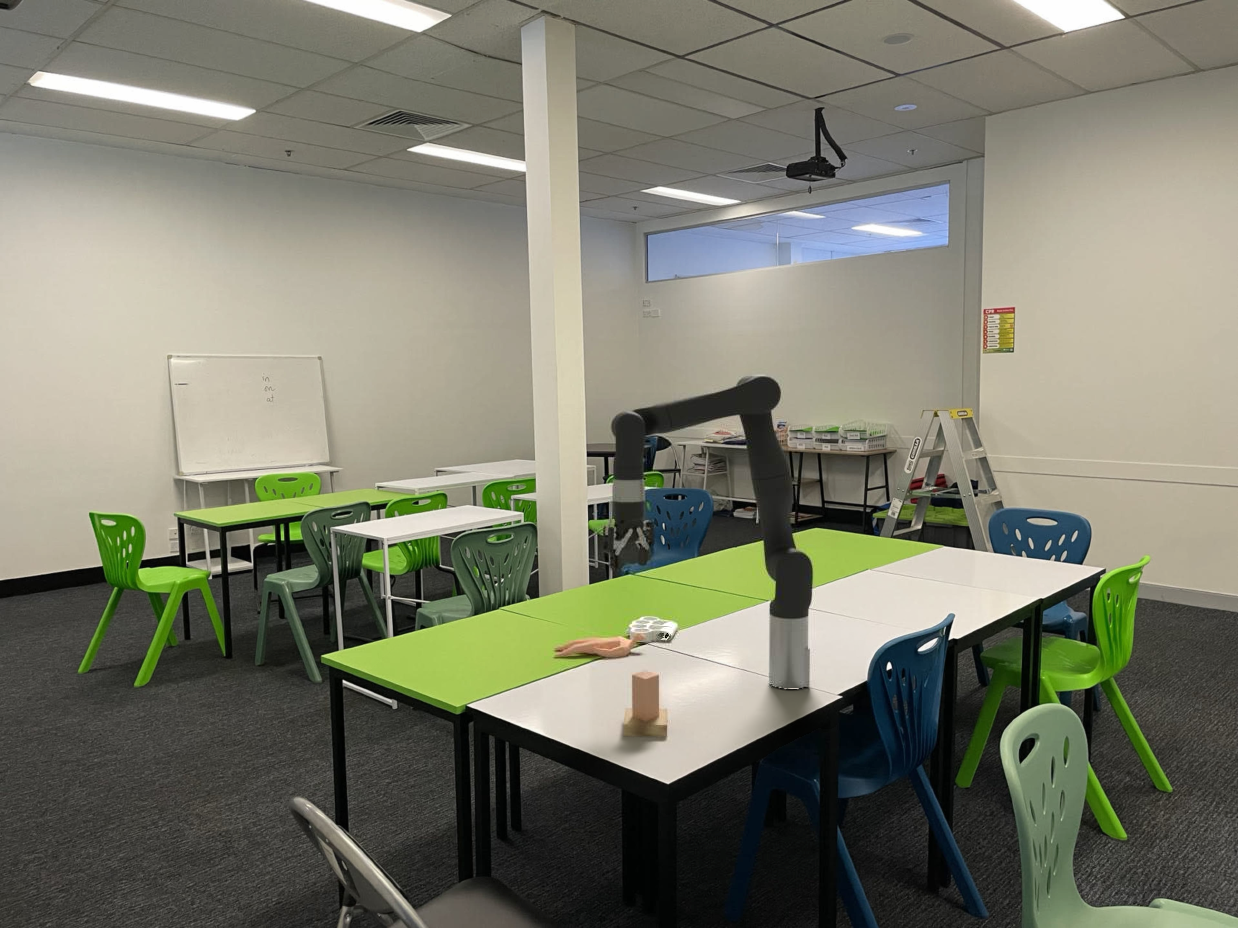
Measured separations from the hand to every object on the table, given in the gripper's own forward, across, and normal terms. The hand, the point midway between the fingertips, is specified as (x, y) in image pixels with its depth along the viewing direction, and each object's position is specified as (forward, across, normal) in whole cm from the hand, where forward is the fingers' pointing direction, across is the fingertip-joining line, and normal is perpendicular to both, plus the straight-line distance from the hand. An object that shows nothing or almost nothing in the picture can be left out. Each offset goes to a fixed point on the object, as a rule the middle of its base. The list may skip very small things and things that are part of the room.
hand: (629, 567), depth 201 cm
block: (+28, -11, -17) cm, 34 cm away
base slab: (+31, -11, -17) cm, 37 cm away
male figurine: (+31, +16, +30) cm, 46 cm away
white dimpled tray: (+31, +38, +33) cm, 59 cm away
